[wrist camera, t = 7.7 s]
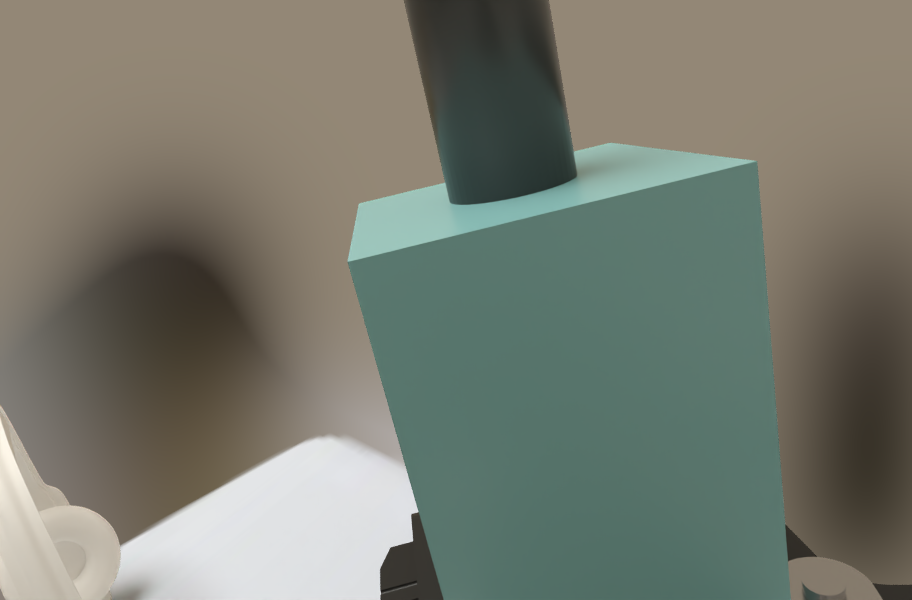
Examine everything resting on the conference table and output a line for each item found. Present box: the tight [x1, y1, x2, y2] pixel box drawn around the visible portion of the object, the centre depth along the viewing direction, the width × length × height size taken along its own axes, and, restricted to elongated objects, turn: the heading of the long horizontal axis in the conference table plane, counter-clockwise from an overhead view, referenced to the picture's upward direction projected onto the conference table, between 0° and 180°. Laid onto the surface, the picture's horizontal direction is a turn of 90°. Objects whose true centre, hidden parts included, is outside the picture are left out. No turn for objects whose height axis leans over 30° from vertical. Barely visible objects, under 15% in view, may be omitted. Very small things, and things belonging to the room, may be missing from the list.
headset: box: [0, 405, 121, 600], centre depth 35 cm, size 20×7×18 cm, turn 41°
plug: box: [348, 0, 791, 600], centre depth 9 cm, size 4×4×22 cm
